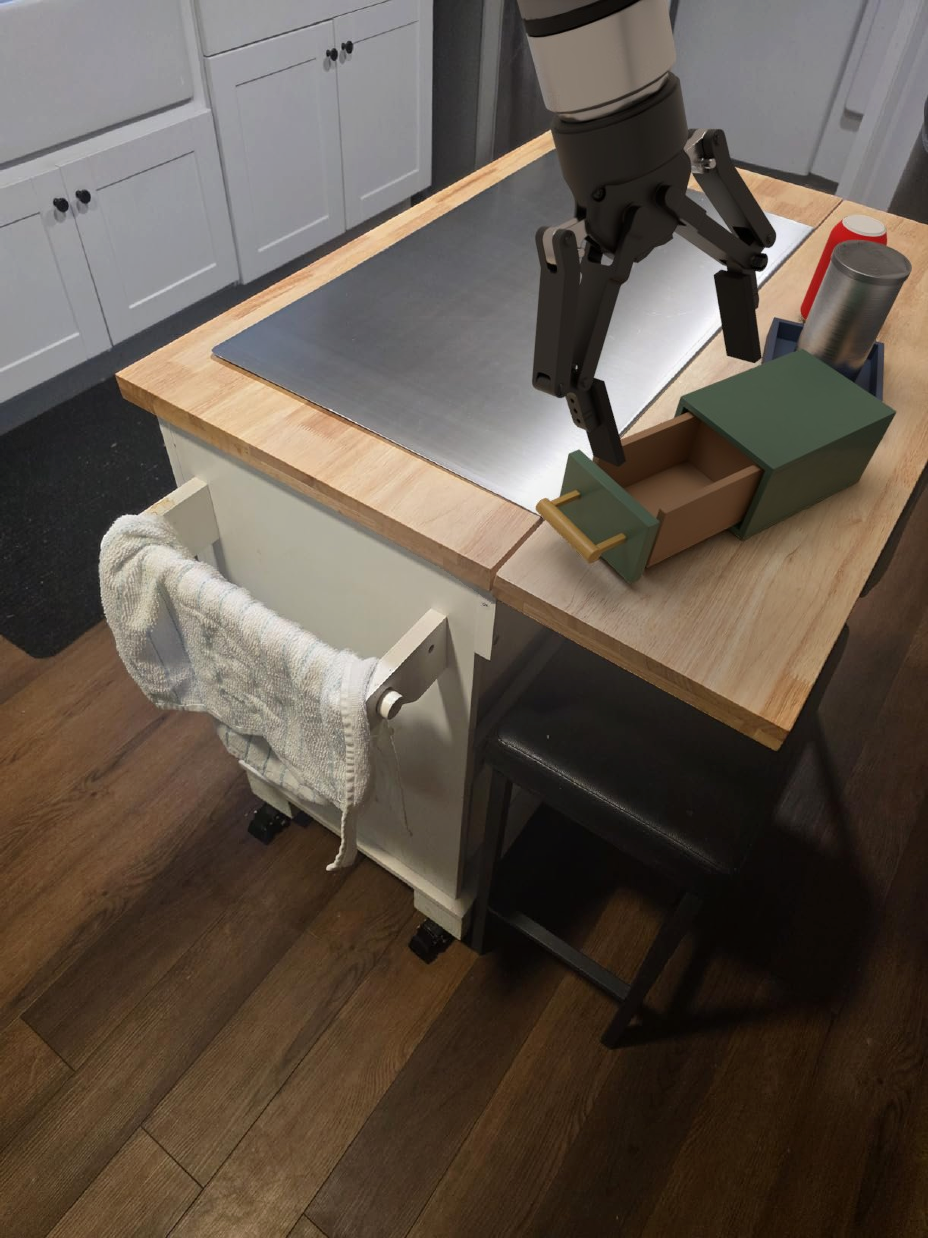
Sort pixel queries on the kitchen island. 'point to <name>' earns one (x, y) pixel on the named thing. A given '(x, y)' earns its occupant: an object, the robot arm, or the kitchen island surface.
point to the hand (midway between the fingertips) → (678, 406)
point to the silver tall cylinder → (853, 304)
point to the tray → (785, 340)
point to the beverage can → (843, 231)
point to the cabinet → (793, 431)
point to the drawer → (653, 495)
